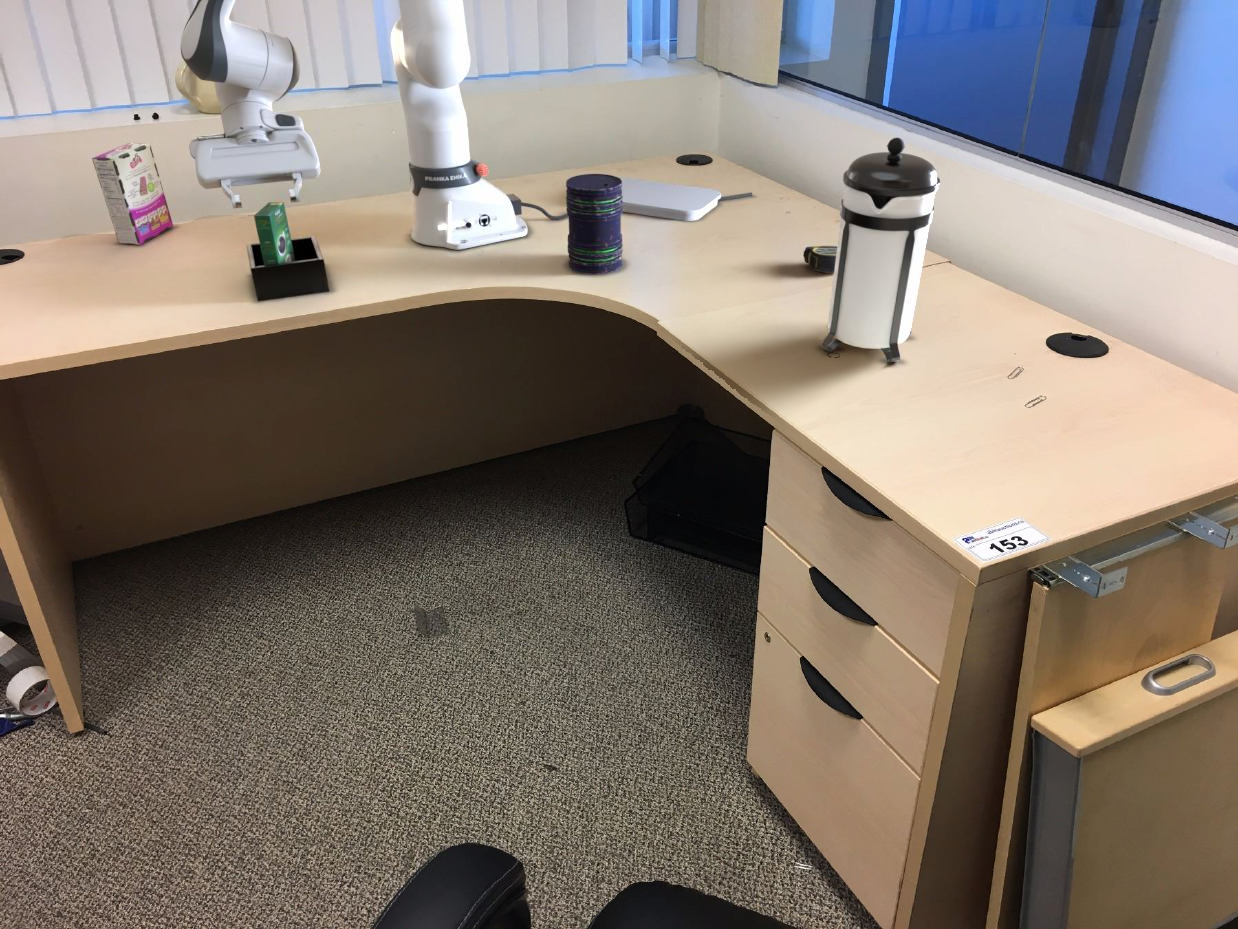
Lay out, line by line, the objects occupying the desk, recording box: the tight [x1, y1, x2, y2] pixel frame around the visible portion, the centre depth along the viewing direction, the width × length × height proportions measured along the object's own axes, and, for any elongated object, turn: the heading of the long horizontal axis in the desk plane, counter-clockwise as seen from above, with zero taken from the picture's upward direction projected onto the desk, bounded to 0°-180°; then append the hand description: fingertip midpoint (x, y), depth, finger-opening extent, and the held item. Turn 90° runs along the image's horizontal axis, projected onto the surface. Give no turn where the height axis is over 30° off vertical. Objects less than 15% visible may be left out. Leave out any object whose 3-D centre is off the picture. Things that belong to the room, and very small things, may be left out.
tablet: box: [619, 177, 722, 222], centre depth 199 cm, size 16×26×2 cm, turn 64°
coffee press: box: [821, 137, 941, 364], centre depth 134 cm, size 17×16×30 cm
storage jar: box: [565, 173, 624, 276], centre depth 165 cm, size 10×10×15 cm
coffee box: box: [253, 201, 295, 265], centre depth 159 cm, size 8×3×13 cm, turn 179°
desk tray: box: [246, 235, 330, 302], centre depth 161 cm, size 12×13×6 cm
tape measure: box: [803, 245, 838, 274], centre depth 166 cm, size 7×7×4 cm
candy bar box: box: [91, 142, 174, 246], centre depth 179 cm, size 11×5×16 cm, turn 168°
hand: (266, 203), depth 161 cm, fingers open, 8 cm apart
